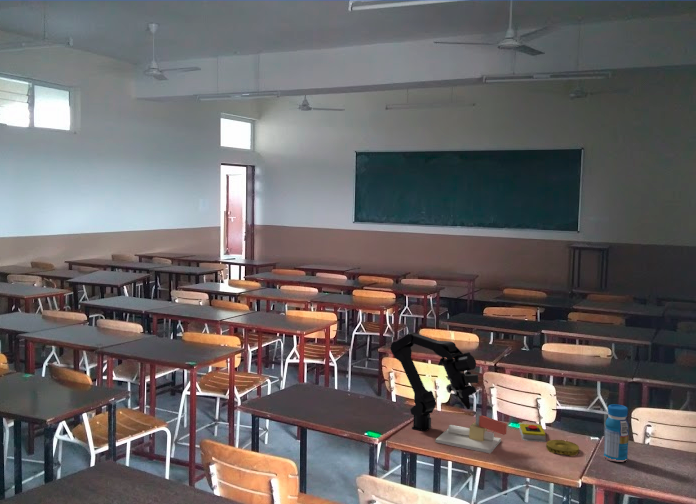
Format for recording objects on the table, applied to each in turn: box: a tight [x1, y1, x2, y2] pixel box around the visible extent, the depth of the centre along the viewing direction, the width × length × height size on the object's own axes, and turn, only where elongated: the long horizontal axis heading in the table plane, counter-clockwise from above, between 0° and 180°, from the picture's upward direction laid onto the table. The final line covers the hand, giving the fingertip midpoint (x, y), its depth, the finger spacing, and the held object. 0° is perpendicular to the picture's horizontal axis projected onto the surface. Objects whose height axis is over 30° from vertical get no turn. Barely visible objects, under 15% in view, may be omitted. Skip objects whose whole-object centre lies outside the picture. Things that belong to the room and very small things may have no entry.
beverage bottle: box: [603, 403, 630, 460], centre depth 234 cm, size 8×8×20 cm
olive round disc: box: [545, 439, 580, 457], centre depth 243 cm, size 12×12×2 cm
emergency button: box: [518, 423, 547, 443], centre depth 259 cm, size 9×4×15 cm
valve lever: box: [475, 413, 508, 436], centre depth 245 cm, size 14×2×4 cm, turn 38°
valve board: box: [435, 422, 502, 454], centre depth 249 cm, size 22×15×6 cm
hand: (468, 408), depth 252 cm, fingers closed
